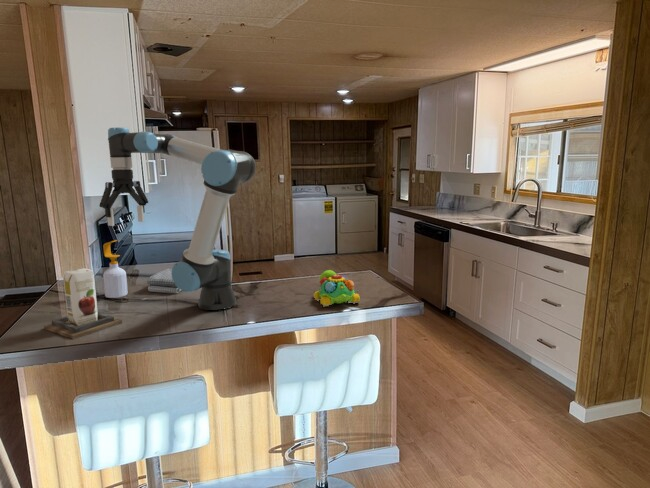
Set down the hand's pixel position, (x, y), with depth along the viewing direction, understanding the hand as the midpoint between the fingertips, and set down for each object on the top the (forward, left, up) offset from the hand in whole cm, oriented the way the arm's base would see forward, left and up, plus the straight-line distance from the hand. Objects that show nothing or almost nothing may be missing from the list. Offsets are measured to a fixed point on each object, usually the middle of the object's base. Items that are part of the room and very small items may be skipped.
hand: (126, 223), depth 177 cm
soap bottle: (+19, -5, -34) cm, 39 cm away
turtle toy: (-66, -49, -34) cm, 89 cm away
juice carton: (-5, +24, -33) cm, 41 cm away
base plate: (-5, +24, -34) cm, 42 cm away
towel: (+7, -26, -34) cm, 44 cm away
